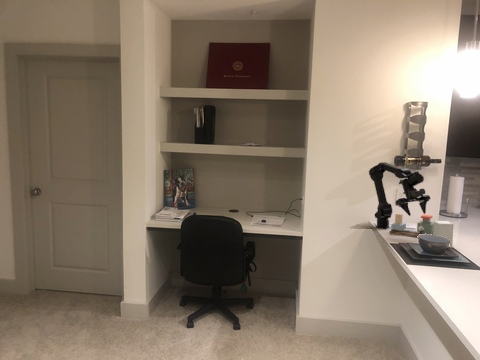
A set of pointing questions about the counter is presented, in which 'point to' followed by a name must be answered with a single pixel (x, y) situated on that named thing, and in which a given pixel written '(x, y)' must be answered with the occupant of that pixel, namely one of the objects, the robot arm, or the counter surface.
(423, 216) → the button
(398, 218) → the blue and cream block
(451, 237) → the supplement box
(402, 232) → the rail bed
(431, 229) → the green jar
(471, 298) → the counter surface
